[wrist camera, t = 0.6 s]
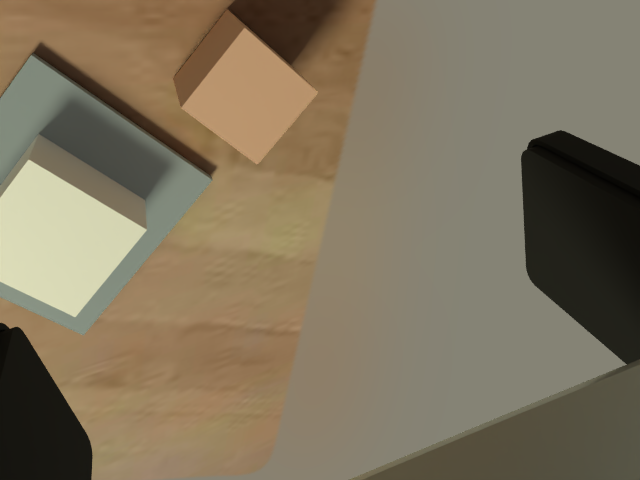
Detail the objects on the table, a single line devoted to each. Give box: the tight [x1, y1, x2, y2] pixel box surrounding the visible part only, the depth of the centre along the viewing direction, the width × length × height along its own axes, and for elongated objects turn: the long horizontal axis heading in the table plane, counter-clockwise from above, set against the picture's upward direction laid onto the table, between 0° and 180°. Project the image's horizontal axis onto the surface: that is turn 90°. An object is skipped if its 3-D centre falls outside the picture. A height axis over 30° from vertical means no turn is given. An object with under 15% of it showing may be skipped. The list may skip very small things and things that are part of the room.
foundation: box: [0, 53, 212, 335], centre depth 34 cm, size 14×12×5 cm
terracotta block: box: [173, 9, 318, 165], centre depth 33 cm, size 5×5×6 cm
